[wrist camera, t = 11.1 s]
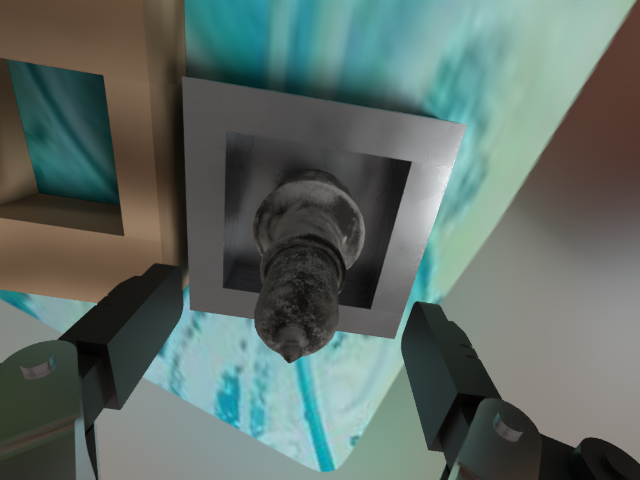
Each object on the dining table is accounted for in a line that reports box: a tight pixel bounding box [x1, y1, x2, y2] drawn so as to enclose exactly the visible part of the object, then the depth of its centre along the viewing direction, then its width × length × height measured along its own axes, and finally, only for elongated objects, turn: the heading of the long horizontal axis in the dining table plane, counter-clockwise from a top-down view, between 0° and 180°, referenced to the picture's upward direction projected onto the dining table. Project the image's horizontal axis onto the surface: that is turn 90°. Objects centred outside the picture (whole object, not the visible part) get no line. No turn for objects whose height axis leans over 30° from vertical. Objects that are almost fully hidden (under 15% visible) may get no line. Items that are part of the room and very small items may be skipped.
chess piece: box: [253, 170, 365, 363], centre depth 14 cm, size 6×6×12 cm
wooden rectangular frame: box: [0, 0, 189, 303], centre depth 17 cm, size 18×12×4 cm, turn 171°
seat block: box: [182, 76, 467, 339], centre depth 18 cm, size 13×13×4 cm
